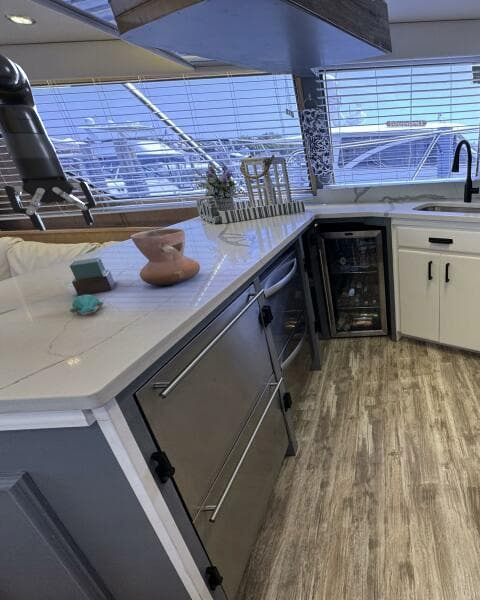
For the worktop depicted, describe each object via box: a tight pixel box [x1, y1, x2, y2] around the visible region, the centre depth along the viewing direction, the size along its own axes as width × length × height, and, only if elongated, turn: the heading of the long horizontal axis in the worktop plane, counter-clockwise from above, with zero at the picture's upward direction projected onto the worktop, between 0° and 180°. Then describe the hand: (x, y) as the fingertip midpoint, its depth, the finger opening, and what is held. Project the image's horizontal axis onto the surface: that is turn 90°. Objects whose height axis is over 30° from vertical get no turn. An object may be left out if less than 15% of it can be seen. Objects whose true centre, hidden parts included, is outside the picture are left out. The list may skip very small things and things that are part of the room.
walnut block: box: [71, 269, 116, 297], centre depth 89 cm, size 7×7×4 cm
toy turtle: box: [69, 294, 105, 316], centre depth 74 cm, size 6×7×4 cm
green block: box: [69, 257, 107, 280], centre depth 87 cm, size 6×6×4 cm
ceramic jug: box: [130, 228, 201, 286], centre depth 91 cm, size 18×14×14 cm
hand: (66, 227), depth 80 cm, fingers open, 8 cm apart
